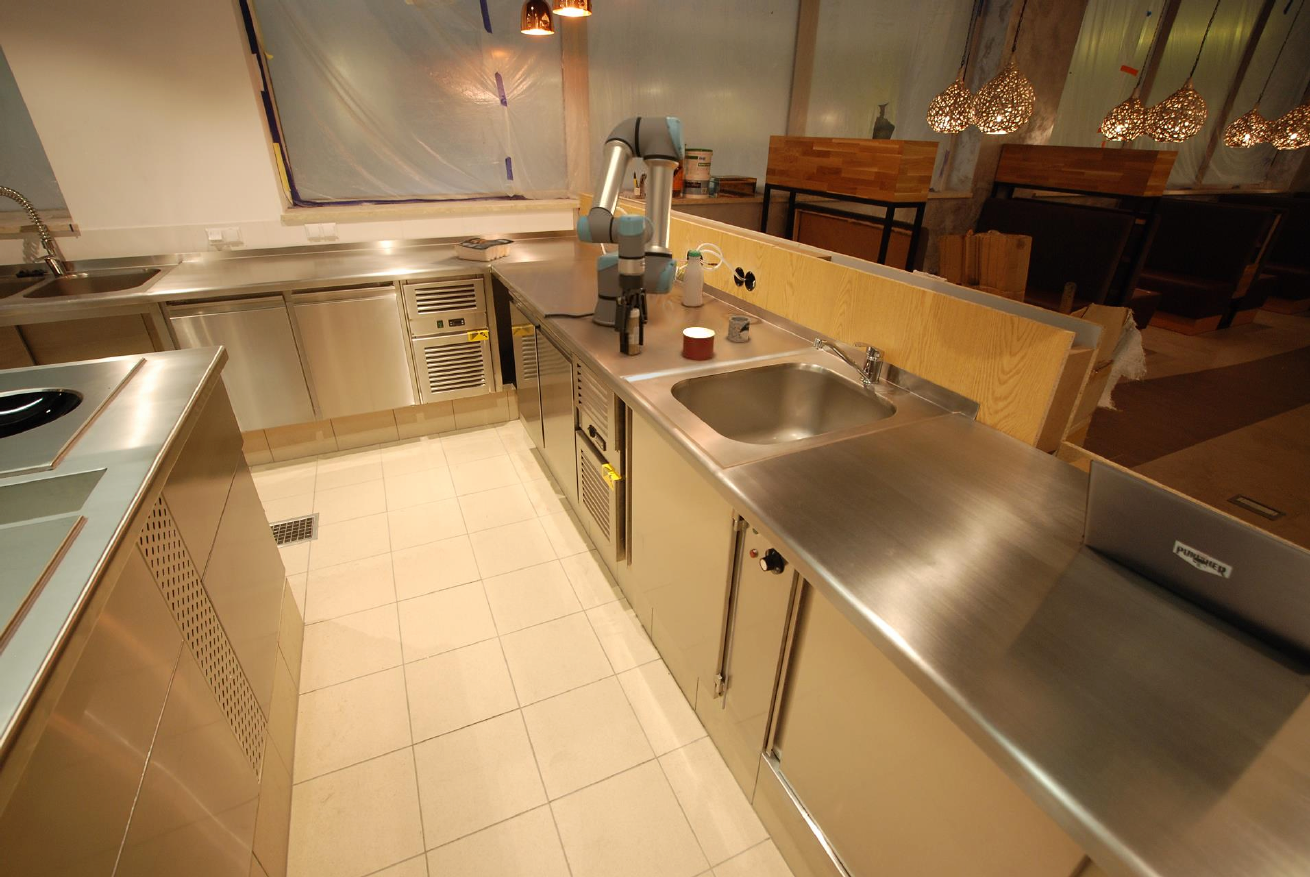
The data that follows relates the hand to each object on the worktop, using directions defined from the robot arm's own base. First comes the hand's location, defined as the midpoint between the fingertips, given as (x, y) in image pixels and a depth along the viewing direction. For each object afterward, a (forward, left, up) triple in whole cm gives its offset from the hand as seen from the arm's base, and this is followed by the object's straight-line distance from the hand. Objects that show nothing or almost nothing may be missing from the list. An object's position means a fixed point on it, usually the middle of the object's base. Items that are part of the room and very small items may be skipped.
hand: (631, 348), depth 174 cm
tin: (+18, +9, -1) cm, 20 cm away
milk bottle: (-8, +59, -1) cm, 60 cm away
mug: (+23, +31, -1) cm, 39 cm away
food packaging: (-139, +82, -1) cm, 161 cm away
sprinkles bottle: (0, 0, -1) cm, 1 cm away
